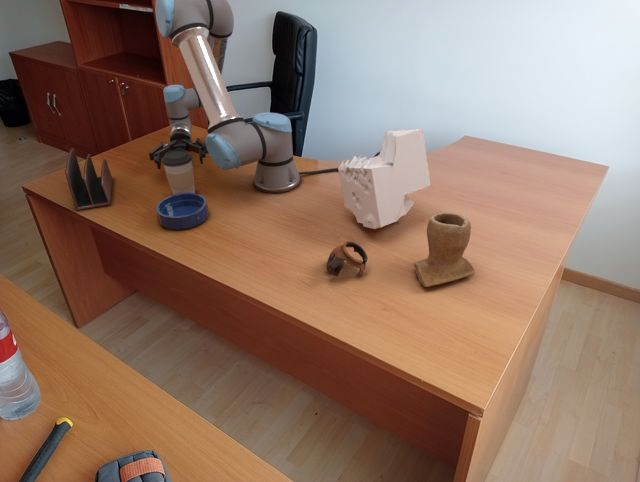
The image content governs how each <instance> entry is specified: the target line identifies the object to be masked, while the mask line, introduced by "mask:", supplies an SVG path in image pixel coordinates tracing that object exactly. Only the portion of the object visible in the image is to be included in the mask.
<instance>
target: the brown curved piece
mask: <svg viewBox="0 0 640 482" xmlns="http://www.w3.org/2000/svg"><path fill="white" fill-rule="evenodd" d="M347 248H352V249H353V252H354V253H357V254H358V255H359V256H360V258H361V259H362V260H361V259H357V258H355V257H354V256H353V255H350V253H349V251H348V250H347ZM332 249H333V248H332ZM368 258H369V257H368V254H367V253H366V251H365V249H364V248H363V247H362V246H360V244H359V243H358V244H357V243H356V242H355V241H345V242H343V244H340V245H337V246H336V247H335V248H334V249H333V250H332V251H330V254H329V256H328V258H327V262H326V264H325V269H326V271H327V273H328V274H329V275H331V276H334V277H339V275H340V273H341V271H342V270H343V269H344V268H345V264H347V265H348V266H351V267H354V268H356V269H359V271H358V273H357V276H358V277H360V276H362V275H363V273H364V272H365V270H366V266H367V262H368Z"/></svg>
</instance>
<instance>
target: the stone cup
mask: <svg viewBox="0 0 640 482" xmlns="http://www.w3.org/2000/svg"><path fill="white" fill-rule="evenodd" d="M471 231H472V225H471V221H470V219H469V218H467V217H466V216H464V215H461V214H459V213H456V212H439V213H435V214H433V215H432V216H430V218H429V219H428V222H427V226H426V238H427V245H428V256H427V258H425V259H422V260H418V261H414V262H413V267H414V269H415V273H416V276H417V279H418V281H419V283H420V284H421V286H423V287H424V288H428V287H432V286H437V285H441V284H446V283H451V282H453V281H457V280H461V279H464V278H467V277H469V276H471V275H473V274H475V268H474V266H473V265H472V263H471V262H470V261H469V260H468V259H466V258H465V257H463V255H464V253H465V251H466V249H467V247H468V245H469V242H470V239H471Z"/></svg>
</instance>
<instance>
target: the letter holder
mask: <svg viewBox="0 0 640 482" xmlns="http://www.w3.org/2000/svg"><path fill="white" fill-rule="evenodd" d="M64 175H65V178H66V182H67V185H68V188H69V191H70V195H71V197H72V199H73V204H74V206H75V210H76V211H83V210H87V209H88V210H89V209H94V208H100V207H106V206H110V205H111V196H112V186H113V185H112V184H113V176H112V173H111V170H110V167H109V165H108V161H107V159H106V158H103V161H102V163H101V169H100V176H98V175H97V172H96V170H95V165H94V163H93V159H92V156H91V154H90V153H88V154H87V155H86V158H85V162H84V166H83V174H82V172H81V168H80V165H79V161H78V158H77V155H76V151H75V149H74V148H73V147H72V148H70V150H69V152H68V154H67V159H66V162H65V169H64Z"/></svg>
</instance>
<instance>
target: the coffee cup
mask: <svg viewBox="0 0 640 482" xmlns="http://www.w3.org/2000/svg"><path fill="white" fill-rule="evenodd" d="M161 164H162V165H163V167H164V172H165V175H166V178H167V181H168V185H169V187H170V189H171V193H172V195H175V194H180V193H196V188H195V174H194V165H193V158H192V154H191V153H190V152H188V151H185V150H184V149H180V148H178V149H175V150H172V151H169V152H167V153H166V154H165V156H164V157H163V158H162V159H161Z"/></svg>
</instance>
